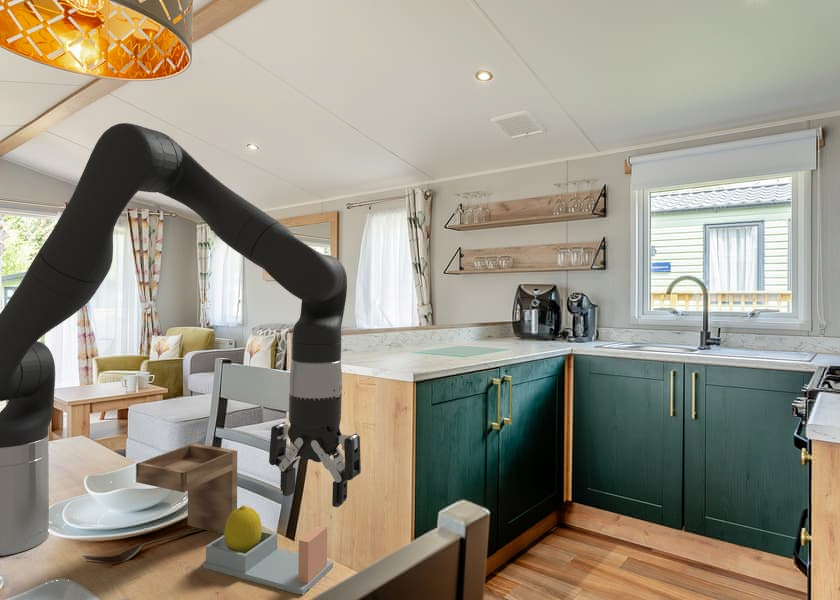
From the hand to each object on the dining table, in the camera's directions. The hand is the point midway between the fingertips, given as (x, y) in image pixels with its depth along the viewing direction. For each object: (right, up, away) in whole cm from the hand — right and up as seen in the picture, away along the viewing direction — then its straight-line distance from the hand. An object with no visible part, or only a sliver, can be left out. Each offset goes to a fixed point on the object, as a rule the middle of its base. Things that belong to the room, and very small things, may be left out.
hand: (313, 499), depth 77 cm
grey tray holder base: (-7, -12, +3) cm, 14 cm away
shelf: (-23, -11, +9) cm, 27 cm away
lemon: (-12, -11, +5) cm, 17 cm away
